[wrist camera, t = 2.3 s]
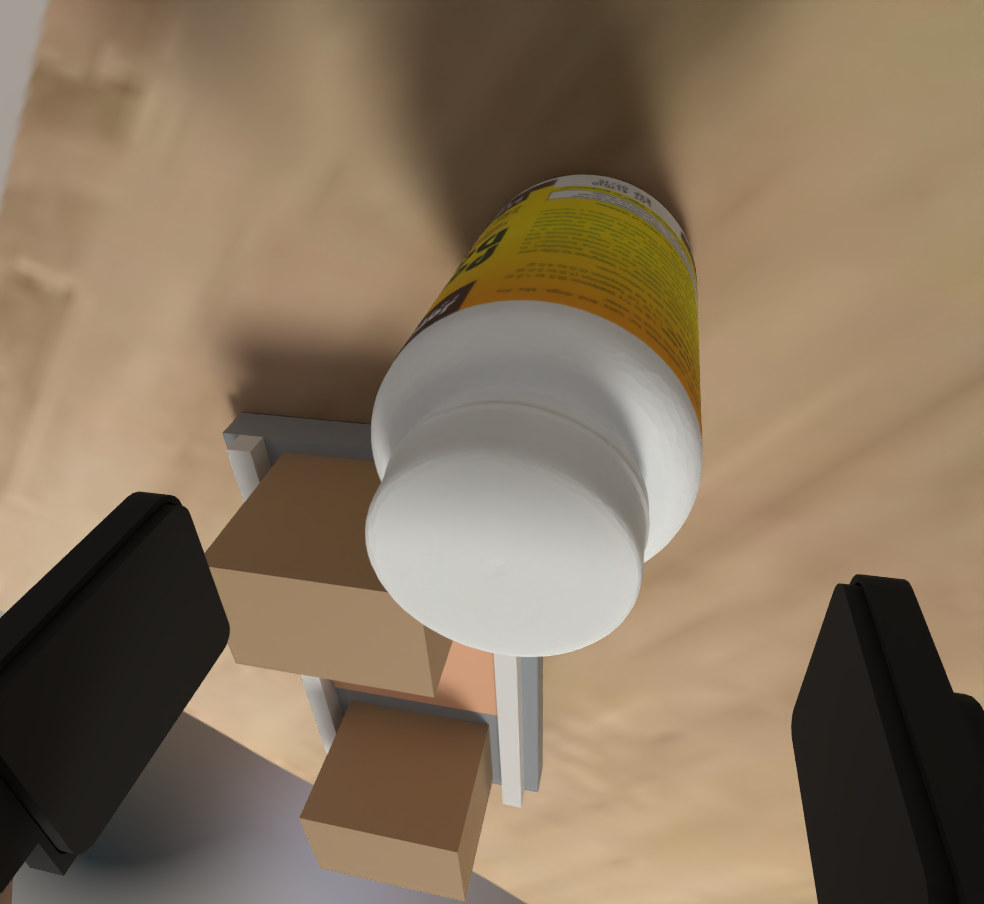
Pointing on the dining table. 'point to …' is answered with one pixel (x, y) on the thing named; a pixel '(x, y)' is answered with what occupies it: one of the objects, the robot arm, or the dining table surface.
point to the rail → (368, 664)
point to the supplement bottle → (542, 423)
